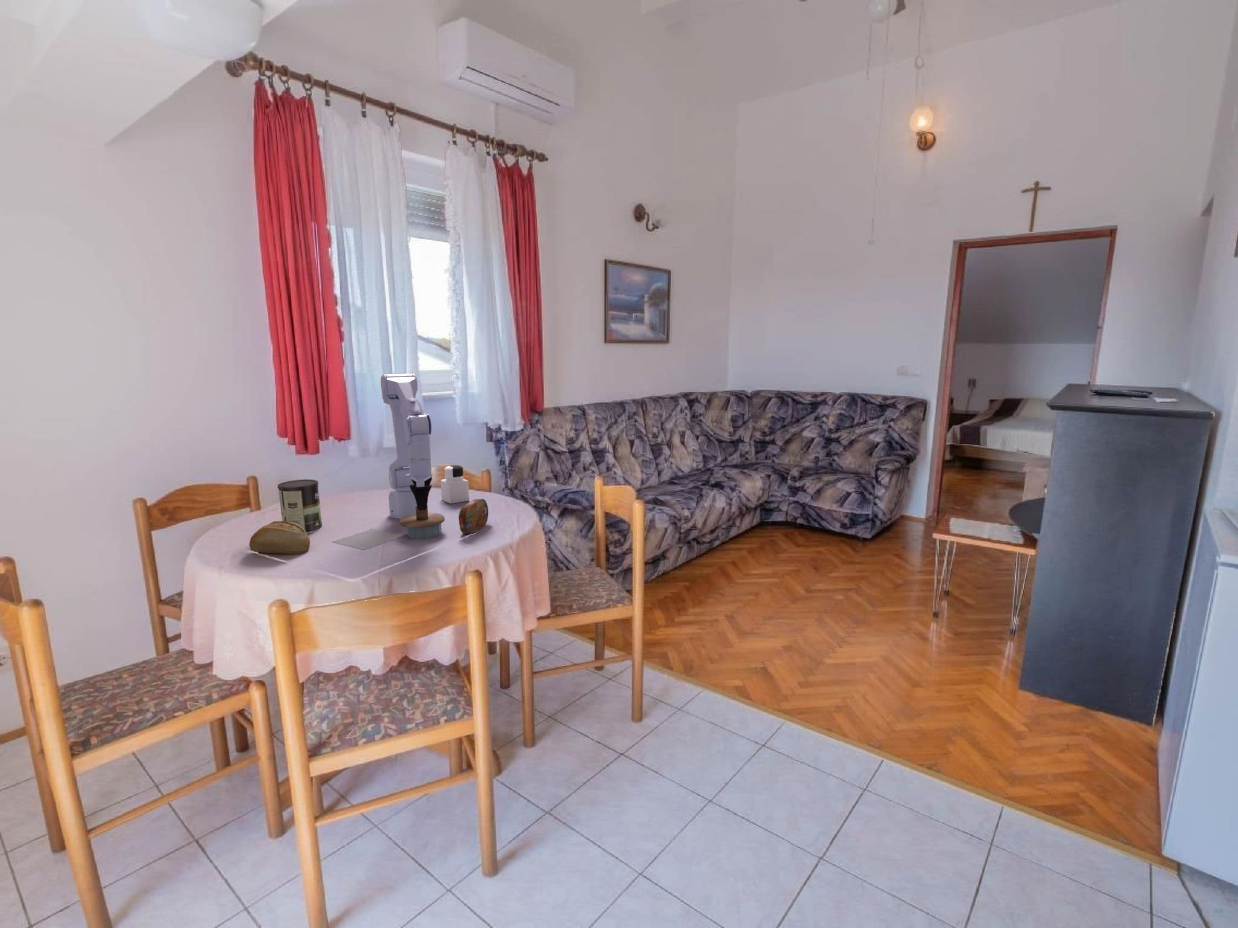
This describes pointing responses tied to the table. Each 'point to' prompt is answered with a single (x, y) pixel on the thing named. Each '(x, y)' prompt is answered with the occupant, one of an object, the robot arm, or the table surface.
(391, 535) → the mat
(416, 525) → the lid
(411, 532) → the bowl
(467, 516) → the tin
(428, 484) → the robot arm
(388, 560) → the table surface
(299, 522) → the coffee can
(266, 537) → the bread roll
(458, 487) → the medicine bottle
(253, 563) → the table surface
